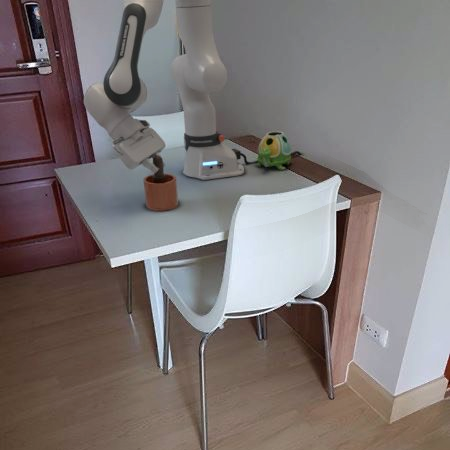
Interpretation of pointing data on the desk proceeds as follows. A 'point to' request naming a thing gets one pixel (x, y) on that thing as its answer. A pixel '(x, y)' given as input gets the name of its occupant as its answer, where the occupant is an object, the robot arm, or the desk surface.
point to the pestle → (159, 171)
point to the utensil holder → (161, 193)
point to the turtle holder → (274, 150)
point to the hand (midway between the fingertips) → (160, 169)
